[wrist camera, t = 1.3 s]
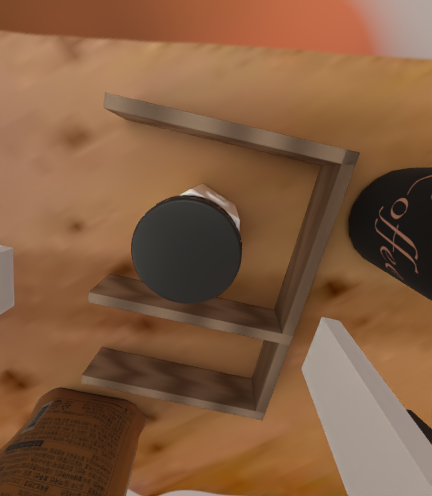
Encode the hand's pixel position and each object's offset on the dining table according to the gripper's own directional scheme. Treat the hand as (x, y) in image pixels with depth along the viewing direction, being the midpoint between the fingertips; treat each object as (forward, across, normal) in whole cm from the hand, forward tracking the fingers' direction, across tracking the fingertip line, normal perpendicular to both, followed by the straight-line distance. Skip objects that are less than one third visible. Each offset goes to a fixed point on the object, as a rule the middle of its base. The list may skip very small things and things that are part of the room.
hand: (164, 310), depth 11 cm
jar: (+20, 0, 0) cm, 20 cm away
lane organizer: (+20, +1, -6) cm, 20 cm away
